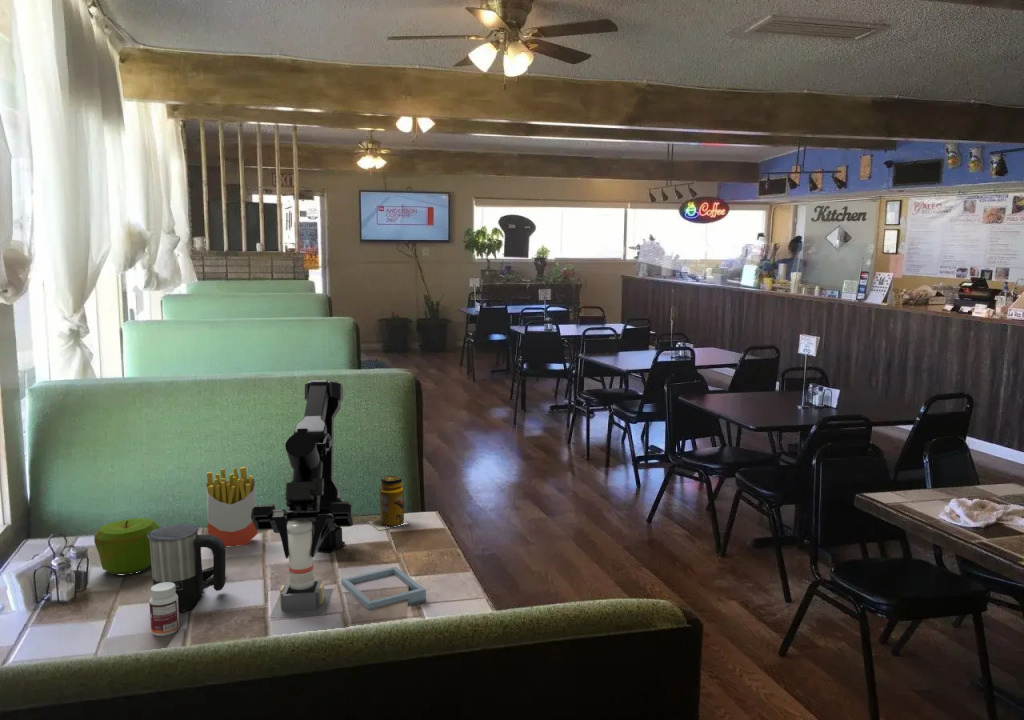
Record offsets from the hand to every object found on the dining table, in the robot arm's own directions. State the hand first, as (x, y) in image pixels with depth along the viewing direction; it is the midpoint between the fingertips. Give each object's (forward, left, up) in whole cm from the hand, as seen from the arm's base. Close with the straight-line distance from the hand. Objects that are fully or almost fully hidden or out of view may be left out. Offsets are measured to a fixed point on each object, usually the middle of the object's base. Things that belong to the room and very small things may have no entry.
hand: (299, 556), depth 145 cm
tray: (+10, +12, -11) cm, 20 cm away
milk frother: (-26, -1, -11) cm, 28 cm away
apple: (-49, +4, -11) cm, 50 cm away
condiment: (-12, +51, -11) cm, 54 cm away
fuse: (-1, +1, -6) cm, 6 cm away
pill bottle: (-19, -15, -11) cm, 26 cm away
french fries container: (-39, +25, -11) cm, 48 cm away
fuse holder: (-1, +1, -11) cm, 11 cm away
